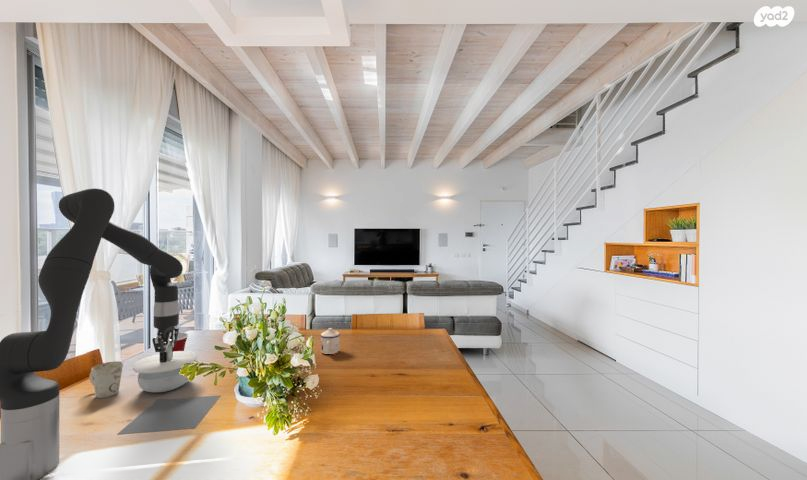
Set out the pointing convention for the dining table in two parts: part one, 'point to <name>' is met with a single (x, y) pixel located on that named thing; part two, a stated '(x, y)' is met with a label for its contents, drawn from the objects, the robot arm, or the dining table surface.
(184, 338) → the plastic cup
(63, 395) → the dining table surface
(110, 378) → the mug
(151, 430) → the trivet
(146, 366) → the lid
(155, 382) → the cereal bowl
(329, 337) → the teacup with lid
